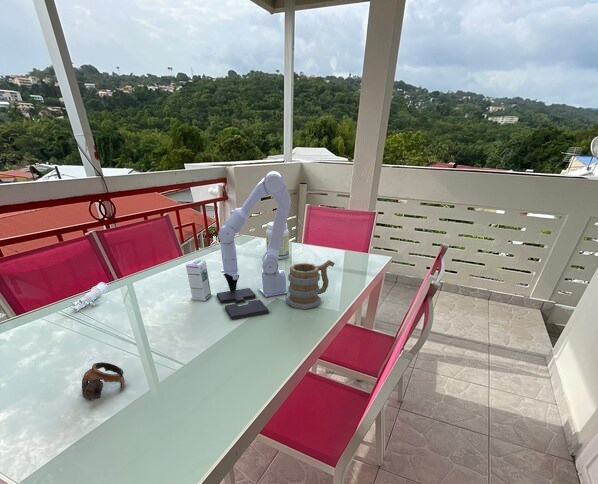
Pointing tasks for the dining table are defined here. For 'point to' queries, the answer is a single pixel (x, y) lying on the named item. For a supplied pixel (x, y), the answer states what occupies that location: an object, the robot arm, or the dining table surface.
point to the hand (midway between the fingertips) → (233, 290)
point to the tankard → (307, 284)
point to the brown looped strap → (95, 376)
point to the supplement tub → (284, 244)
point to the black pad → (236, 296)
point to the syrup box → (198, 280)
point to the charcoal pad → (246, 309)
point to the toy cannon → (91, 296)
